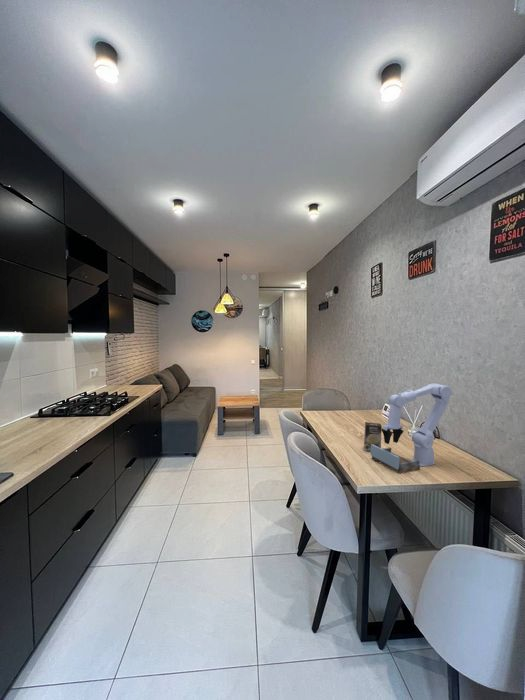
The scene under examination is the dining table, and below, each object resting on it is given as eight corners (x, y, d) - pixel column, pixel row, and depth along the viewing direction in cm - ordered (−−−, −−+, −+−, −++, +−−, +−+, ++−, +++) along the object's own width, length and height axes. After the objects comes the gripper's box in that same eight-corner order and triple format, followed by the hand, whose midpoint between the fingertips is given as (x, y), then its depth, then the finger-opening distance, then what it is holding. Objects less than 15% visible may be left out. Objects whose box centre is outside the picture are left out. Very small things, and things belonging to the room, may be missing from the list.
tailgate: (372, 455, 165) (372, 444, 165) (399, 469, 147) (399, 457, 147) (370, 455, 165) (370, 444, 164) (397, 469, 147) (397, 457, 147)
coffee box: (364, 451, 175) (365, 424, 175) (363, 447, 181) (364, 421, 181) (381, 453, 173) (381, 426, 172) (379, 449, 179) (380, 423, 178)
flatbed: (390, 455, 170) (390, 447, 170) (419, 469, 152) (420, 460, 152) (372, 458, 166) (372, 450, 166) (400, 473, 147) (400, 464, 147)
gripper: (395, 415, 164) (392, 439, 165) (379, 415, 156) (375, 441, 157) (407, 418, 158) (404, 443, 159) (391, 419, 150) (387, 445, 151)
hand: (390, 442), depth 157 cm, fingers open, 7 cm apart
